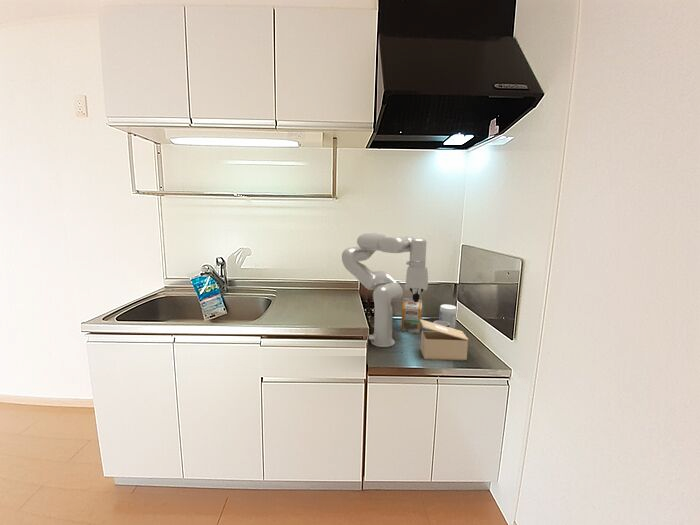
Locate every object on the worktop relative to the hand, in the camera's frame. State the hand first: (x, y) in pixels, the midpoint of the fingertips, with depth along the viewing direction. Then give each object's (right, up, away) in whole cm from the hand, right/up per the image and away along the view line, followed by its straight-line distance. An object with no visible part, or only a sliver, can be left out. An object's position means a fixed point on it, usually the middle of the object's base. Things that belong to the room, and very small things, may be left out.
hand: (415, 301), depth 164 cm
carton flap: (+14, -14, +2) cm, 20 cm away
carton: (+14, -27, +4) cm, 31 cm away
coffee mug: (+18, -24, +23) cm, 38 cm away
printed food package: (+5, -21, +38) cm, 44 cm away
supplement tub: (+26, -22, +38) cm, 51 cm away
